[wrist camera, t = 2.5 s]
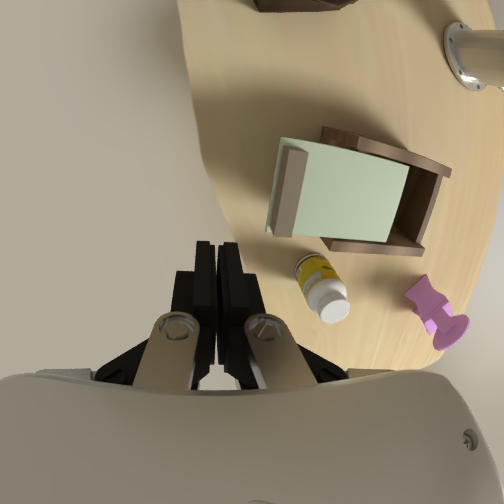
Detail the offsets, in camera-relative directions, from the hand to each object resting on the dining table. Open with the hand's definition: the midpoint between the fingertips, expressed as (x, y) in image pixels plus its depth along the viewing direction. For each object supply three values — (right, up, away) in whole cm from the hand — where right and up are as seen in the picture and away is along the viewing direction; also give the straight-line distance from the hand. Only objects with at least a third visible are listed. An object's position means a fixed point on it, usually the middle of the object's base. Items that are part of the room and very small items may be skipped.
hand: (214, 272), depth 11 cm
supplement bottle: (+10, -1, +28) cm, 30 cm away
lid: (+10, +6, +14) cm, 18 cm away
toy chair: (+36, -8, +36) cm, 52 cm away
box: (+16, +10, +22) cm, 29 cm away
